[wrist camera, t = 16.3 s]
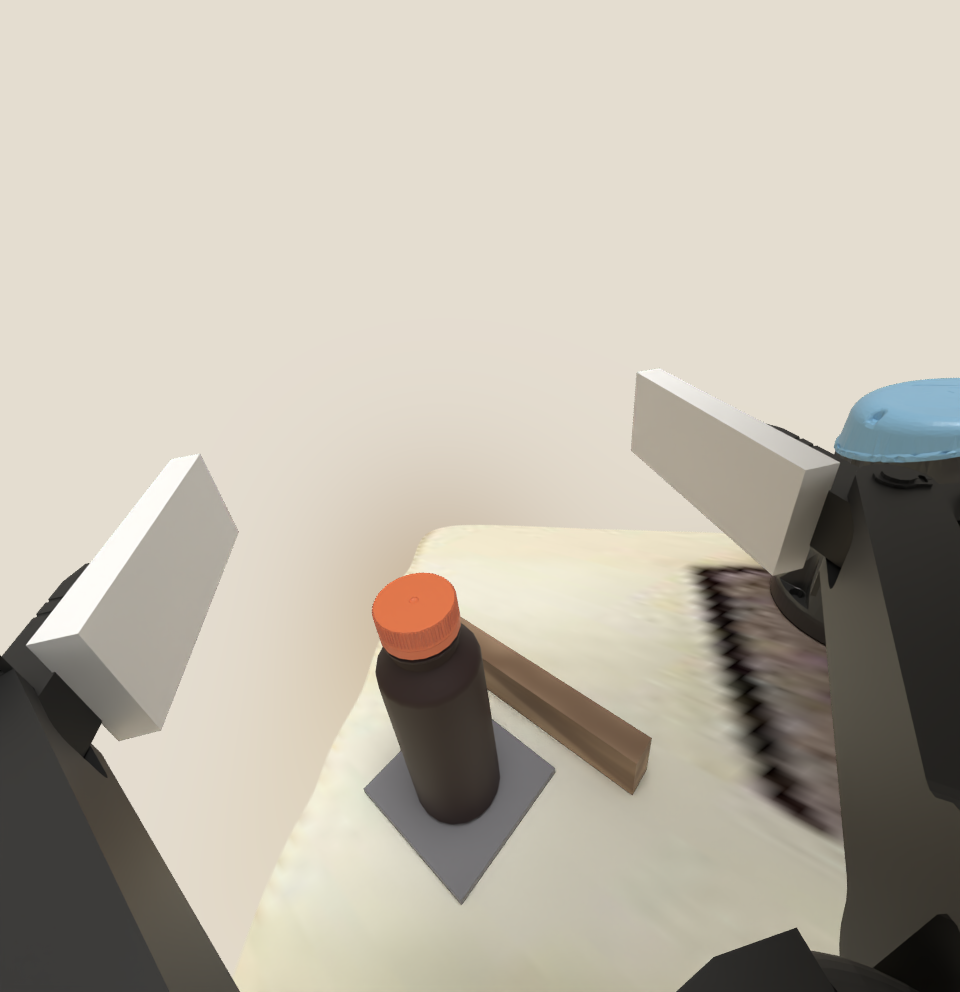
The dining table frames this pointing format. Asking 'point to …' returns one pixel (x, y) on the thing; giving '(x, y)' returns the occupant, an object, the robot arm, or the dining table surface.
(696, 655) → the dining table surface
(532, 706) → the door rail
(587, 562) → the dining table surface
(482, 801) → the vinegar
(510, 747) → the pad
